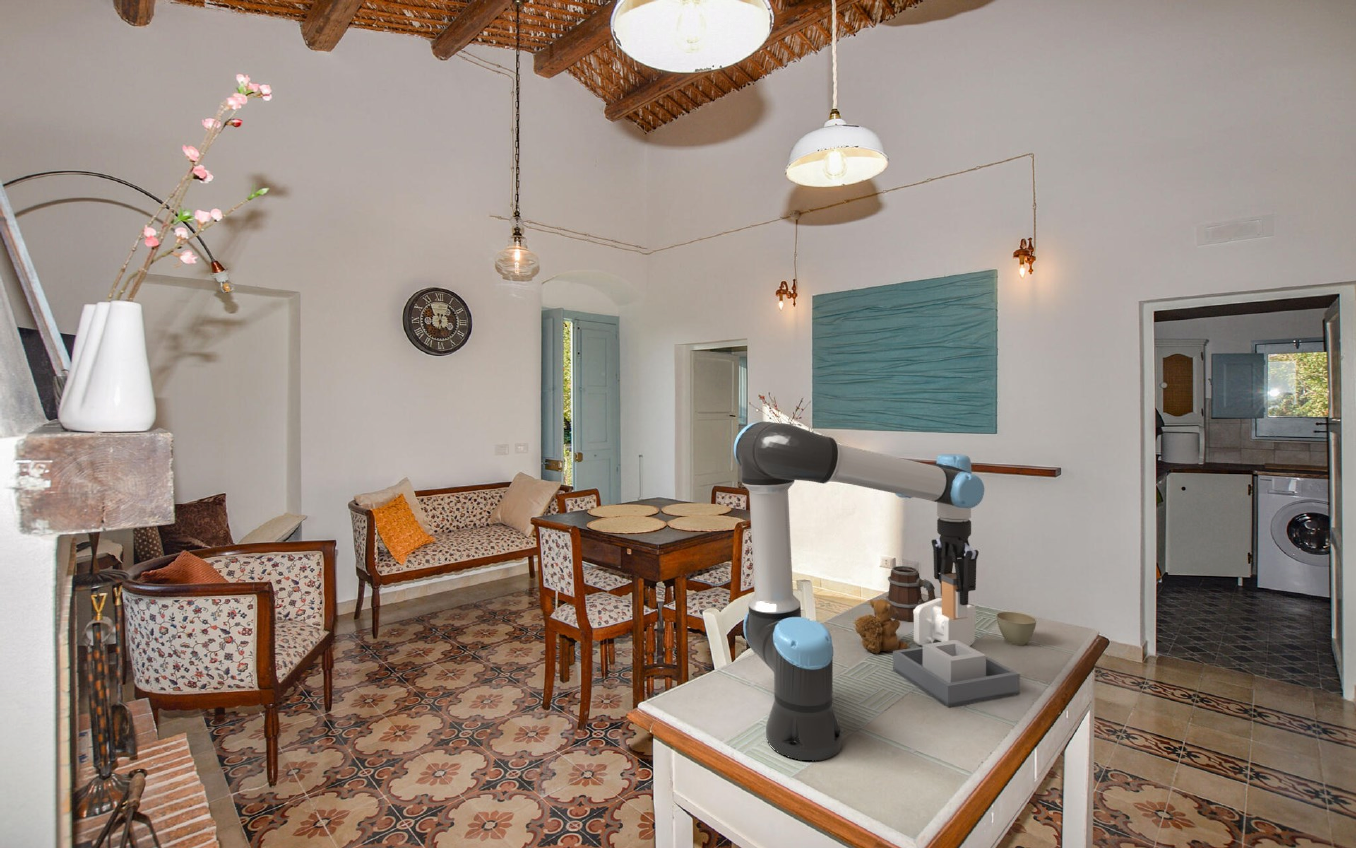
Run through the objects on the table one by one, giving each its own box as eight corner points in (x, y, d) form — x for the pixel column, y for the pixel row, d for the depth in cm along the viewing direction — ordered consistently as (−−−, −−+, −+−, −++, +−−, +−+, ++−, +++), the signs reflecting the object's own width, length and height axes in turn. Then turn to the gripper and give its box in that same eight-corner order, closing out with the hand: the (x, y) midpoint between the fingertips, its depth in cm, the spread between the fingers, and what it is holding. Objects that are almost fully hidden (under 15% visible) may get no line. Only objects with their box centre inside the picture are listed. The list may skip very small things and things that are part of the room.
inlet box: (948, 708, 137) (948, 672, 136) (893, 670, 156) (893, 639, 156) (1019, 694, 142) (1020, 661, 142) (958, 660, 161) (958, 630, 161)
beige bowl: (1036, 639, 174) (1037, 614, 174) (1035, 652, 166) (1035, 626, 166) (997, 632, 180) (997, 608, 180) (994, 644, 171) (994, 619, 171)
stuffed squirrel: (910, 648, 169) (910, 601, 169) (877, 661, 162) (877, 612, 161) (881, 637, 178) (881, 592, 177) (848, 648, 170) (847, 601, 170)
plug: (953, 620, 146) (953, 578, 145) (941, 614, 150) (941, 574, 149) (967, 618, 147) (967, 577, 146) (955, 612, 151) (955, 572, 150)
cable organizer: (947, 659, 162) (947, 616, 162) (911, 646, 171) (911, 605, 170) (976, 645, 171) (976, 604, 171) (940, 634, 180) (940, 595, 179)
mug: (879, 616, 195) (879, 569, 194) (896, 606, 204) (896, 562, 203) (928, 628, 184) (928, 579, 183) (943, 618, 192) (944, 571, 192)
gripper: (994, 524, 140) (994, 624, 141) (942, 511, 156) (943, 601, 157) (966, 526, 138) (967, 628, 139) (917, 513, 154) (918, 604, 155)
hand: (954, 613), depth 148 cm, fingers closed on plug, 4 cm apart
